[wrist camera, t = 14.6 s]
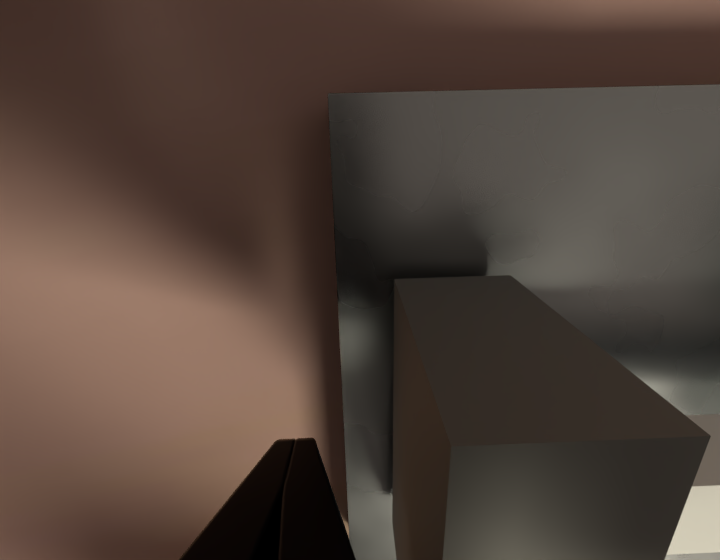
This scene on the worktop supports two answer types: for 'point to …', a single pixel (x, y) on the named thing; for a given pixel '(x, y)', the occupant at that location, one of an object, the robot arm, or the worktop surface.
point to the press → (526, 238)
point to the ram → (535, 437)
